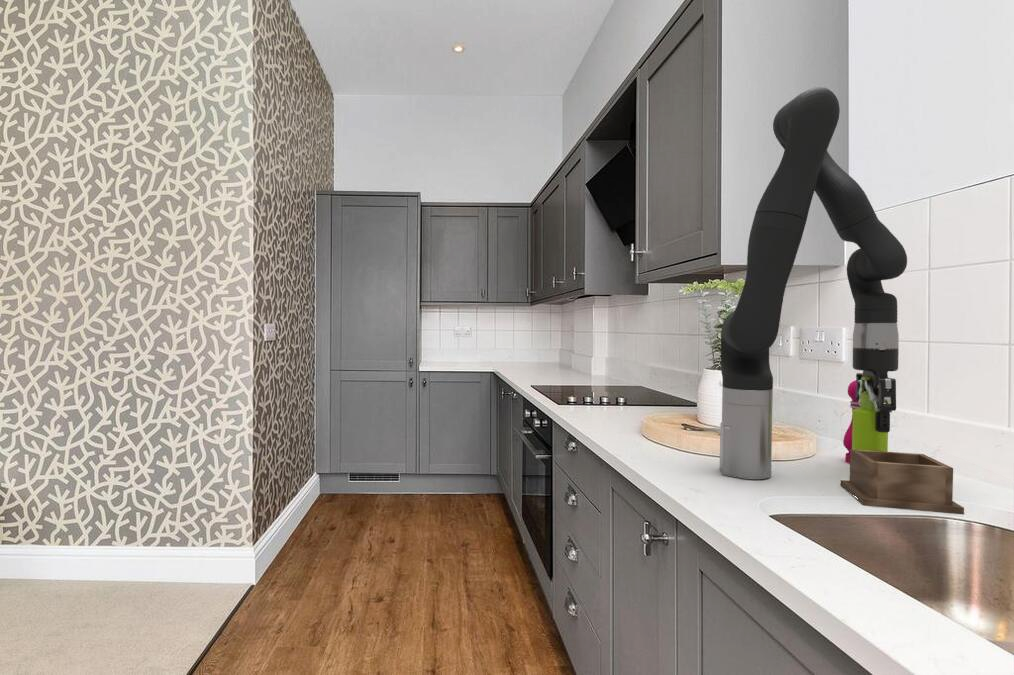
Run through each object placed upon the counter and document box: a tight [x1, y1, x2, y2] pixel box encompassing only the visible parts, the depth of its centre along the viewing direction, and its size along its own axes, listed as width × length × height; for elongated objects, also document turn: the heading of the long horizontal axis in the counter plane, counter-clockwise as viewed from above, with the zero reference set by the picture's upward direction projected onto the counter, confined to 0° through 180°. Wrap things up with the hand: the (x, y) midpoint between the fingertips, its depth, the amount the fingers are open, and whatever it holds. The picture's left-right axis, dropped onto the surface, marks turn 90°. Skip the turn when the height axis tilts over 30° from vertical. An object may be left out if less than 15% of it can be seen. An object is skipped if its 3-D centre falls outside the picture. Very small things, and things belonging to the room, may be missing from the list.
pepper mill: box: [842, 371, 863, 465], centre depth 119 cm, size 7×7×20 cm
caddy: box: [840, 449, 965, 515], centre depth 94 cm, size 14×12×7 cm
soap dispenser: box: [852, 376, 893, 452], centre depth 108 cm, size 6×7×20 cm
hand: (874, 428), depth 108 cm, fingers open, 8 cm apart
